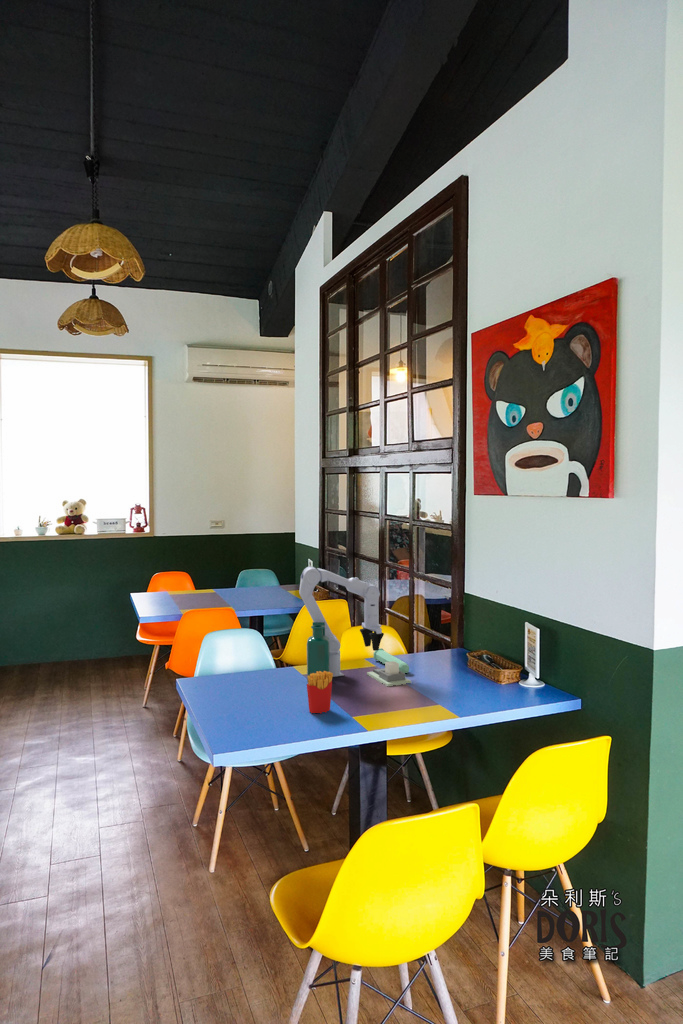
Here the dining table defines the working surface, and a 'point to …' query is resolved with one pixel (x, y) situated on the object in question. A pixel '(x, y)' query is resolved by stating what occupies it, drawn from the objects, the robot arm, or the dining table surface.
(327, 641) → the green bottle
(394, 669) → the block
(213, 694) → the dining table surface
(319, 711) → the french fries
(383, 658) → the container
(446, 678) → the dining table surface
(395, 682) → the outlet plate
